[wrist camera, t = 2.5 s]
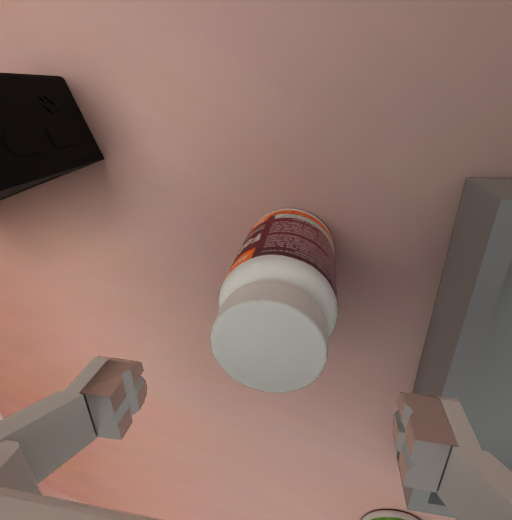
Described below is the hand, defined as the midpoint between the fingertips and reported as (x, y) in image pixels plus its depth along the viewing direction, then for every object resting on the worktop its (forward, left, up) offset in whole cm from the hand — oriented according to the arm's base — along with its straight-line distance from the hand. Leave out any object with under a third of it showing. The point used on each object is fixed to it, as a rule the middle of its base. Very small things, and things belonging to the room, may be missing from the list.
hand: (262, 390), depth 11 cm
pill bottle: (-1, 0, -10) cm, 10 cm away
